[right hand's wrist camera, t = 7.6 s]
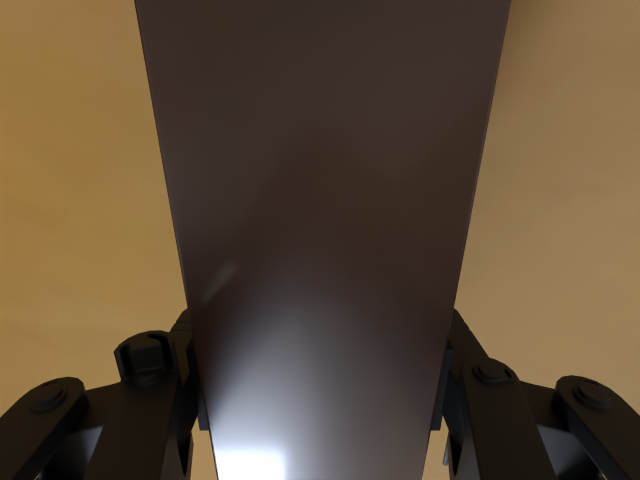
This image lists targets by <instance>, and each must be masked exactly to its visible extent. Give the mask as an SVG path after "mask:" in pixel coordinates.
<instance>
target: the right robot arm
mask: <svg viewBox="0 0 640 480" xmlns="http://www.w3.org/2000/svg"><path fill="white" fill-rule="evenodd" d="M114 355H115V359H116V363H117V366H118V370H119V374H120V377H121V381H120V382H118V383H115V384H112V385H107V386H103V387H99V388H94V389H90V390H85V387H84V384H83V382H82V381H81V380H79V379H78V378H73V377H64V378H57V379H54V380H51V381H48V382H45V383H43V384H41V385H39V386H37V387H35V388H33V389H31V390H30V391H29V392H27V393H26V394H25V395H24V396H22V397H21V398H20V399H19V400H18V401H17V402H16V403H15V404H14V405H13V406H12V407H11V408H10V409H9V410H8V411H7V412H6V413H5V414H4V415H3V416H2V417H0V480H35V478H36V477H37V476H38V477H37V478H36V480H190V476H191V465H192V455H193V438H192V432H191V430H192V428H193V425H194V423H195V420H196V418H197V417H198V423H199V428H200V430H209V428H208V422H207V416H206V410H205V405H204V399H203V393H202V387H201V382H200V376H199V370H198V364H197V358H196V353H195V347H194V341H193V335H192V330H191V324H190V318H189V312H188V308H187V309H186V310H184V311H183V312H182V314H181V315H180V317H179V318H178V319H177V321H176V323H175V324H174V325H173V327H172V328H171V331H170V332H165V331H161V330H157V331H147V332H143V333H139V334H136V335H134V336H132V337H130V338H128V339H126V340H125V341H123V342H122V343H121V344H119V345H118V347H117V348H116V349H115V351H114ZM442 416H443V417H444V419H445V422H446V424H447V427H448V429H449V432H448V438H447V443H446V448H445V453H444V459H443V465H446V466H447V464H449V475H450V480H606V479H607V480H640V415H638V414H637V413H636V412H635V411H634V410H633V409H632V408H631V407H630V406H629V405H628V404H627V403H626V402H625V401H624V400H623V399H622V398H621V397H620V396H619V395H617V394H616V393H615V392H614V391H612V390H611V389H610V388H608V387H606V386H604V385H602V384H600V383H599V382H597V381H594V380H591V379H588V378H585V377H580V376H573V375H570V376H564V377H561V378H560V379H559V380H558V381H557V383H556V386H555V389H552V388H547V387H543V386H539V385H534V384H530V383H526V382H523V381H520V380H519V378H518V377H517V375H516V374H515V372H514V371H513V370H511V369H510V368H509V367H508V366H507V365H505V364H503V363H501V362H499V361H497V360H495V359H492V358H489V357H488V355H487V354H486V352H485V351H484V349H483V348H482V346H481V345H480V343H479V342H478V341H477V339H476V338H475V336H474V335H473V333H472V332H471V330H469V327H468V326H467V324H466V323H465V322H464V320H463V318H462V317H461V315H460V314H459V313H458V311H457V310H456V309H453V314H452V319H451V325H450V330H449V336H448V341H447V346H446V352H445V357H444V362H443V368H442V373H441V379H440V384H439V389H438V395H437V400H436V405H435V411H434V416H433V421H432V427H431V430H440V427H441V421H442ZM602 474H603V475H604V476H605V478H606V479H605V478H604V477H603V475H602Z"/></svg>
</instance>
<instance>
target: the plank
mask: <svg viewBox="0 0 640 480" xmlns="http://www.w3.org/2000/svg"><path fill="white" fill-rule="evenodd" d="M134 2H135V7H136V13H137V19H138V25H139V30H140V36H141V42H142V48H143V54H144V59H145V65H146V71H147V77H148V82H149V88H150V94H151V100H152V105H153V111H154V117H155V123H156V128H157V134H158V140H159V146H160V151H161V157H162V163H163V169H164V174H165V180H166V186H167V192H168V197H169V203H170V209H171V215H172V220H173V226H174V232H175V238H176V243H177V249H178V255H179V261H180V266H181V272H182V278H183V284H184V289H185V295H186V301H187V307H188V312H189V318H190V324H191V330H192V335H193V341H194V347H195V353H196V358H197V364H198V370H199V376H200V382H201V387H202V393H203V399H204V405H205V410H206V416H207V422H208V428H209V433H210V439H211V445H212V451H213V456H214V462H215V468H216V474H217V479H218V480H422V475H423V470H424V464H425V459H426V454H427V448H428V443H429V438H430V432H431V427H432V421H433V416H434V411H435V405H436V400H437V395H438V389H439V384H440V379H441V373H442V368H443V362H444V357H445V352H446V346H447V341H448V336H449V330H450V325H451V319H452V314H453V309H454V303H455V298H456V293H457V287H458V282H459V277H460V271H461V266H462V260H463V255H464V250H465V244H466V239H467V234H468V228H469V223H470V217H471V212H472V207H473V201H474V196H475V191H476V185H477V180H478V175H479V169H480V164H481V158H482V153H483V148H484V142H485V137H486V132H487V126H488V121H489V115H490V110H491V105H492V99H493V94H494V89H495V83H496V78H497V73H498V67H499V62H500V56H501V51H502V46H503V40H504V35H505V30H506V24H507V19H508V13H509V8H510V3H511V0H134Z"/></svg>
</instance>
